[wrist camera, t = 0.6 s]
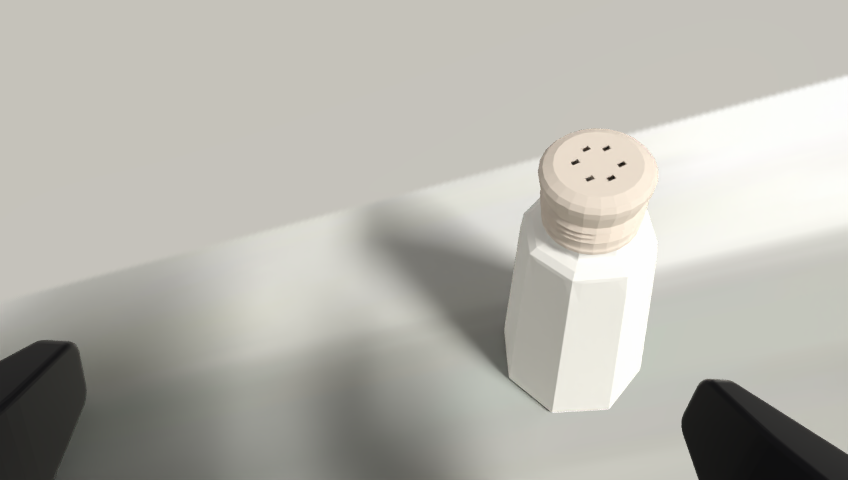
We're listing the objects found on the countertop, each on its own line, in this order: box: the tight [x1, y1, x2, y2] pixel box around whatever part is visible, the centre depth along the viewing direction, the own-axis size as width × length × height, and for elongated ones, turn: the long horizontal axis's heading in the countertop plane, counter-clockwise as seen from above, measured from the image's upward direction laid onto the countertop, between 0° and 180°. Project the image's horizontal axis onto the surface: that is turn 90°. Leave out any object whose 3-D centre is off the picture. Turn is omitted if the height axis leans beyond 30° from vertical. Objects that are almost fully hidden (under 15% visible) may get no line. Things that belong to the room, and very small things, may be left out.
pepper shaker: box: [504, 128, 658, 413], centre depth 18 cm, size 5×5×11 cm
